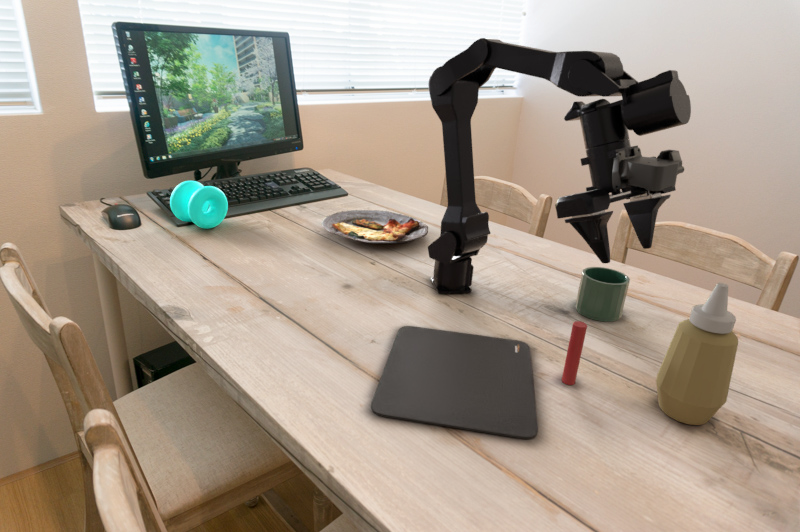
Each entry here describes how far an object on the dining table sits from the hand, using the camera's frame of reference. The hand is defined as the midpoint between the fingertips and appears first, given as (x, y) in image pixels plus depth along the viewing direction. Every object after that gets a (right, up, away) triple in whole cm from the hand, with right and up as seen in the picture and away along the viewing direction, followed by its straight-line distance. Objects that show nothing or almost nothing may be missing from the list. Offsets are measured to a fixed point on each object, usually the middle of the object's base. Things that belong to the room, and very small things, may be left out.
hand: (627, 255), depth 74 cm
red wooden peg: (-9, -17, -1) cm, 19 cm away
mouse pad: (-24, -17, -1) cm, 29 cm away
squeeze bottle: (+5, -20, -6) cm, 22 cm away
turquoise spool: (-79, +8, +52) cm, 96 cm away
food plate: (-40, +8, +48) cm, 63 cm away
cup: (+3, -10, +20) cm, 23 cm away
